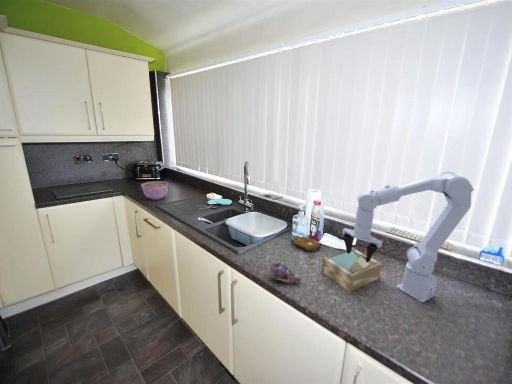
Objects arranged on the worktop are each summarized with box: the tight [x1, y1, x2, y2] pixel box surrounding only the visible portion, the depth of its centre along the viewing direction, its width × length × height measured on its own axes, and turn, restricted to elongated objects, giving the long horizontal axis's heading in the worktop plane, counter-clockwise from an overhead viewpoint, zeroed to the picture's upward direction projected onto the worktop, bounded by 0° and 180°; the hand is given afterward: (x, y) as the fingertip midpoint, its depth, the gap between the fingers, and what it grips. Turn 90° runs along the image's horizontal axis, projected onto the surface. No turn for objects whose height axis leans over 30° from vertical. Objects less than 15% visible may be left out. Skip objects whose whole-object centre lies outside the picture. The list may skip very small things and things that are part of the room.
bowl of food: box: [140, 180, 169, 201], centre depth 187 cm, size 20×20×12 cm
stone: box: [349, 257, 369, 273], centre depth 93 cm, size 4×4×6 cm
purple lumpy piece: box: [269, 262, 302, 285], centre depth 91 cm, size 12×8×6 cm, turn 59°
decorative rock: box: [292, 235, 322, 253], centre depth 119 cm, size 11×4×15 cm
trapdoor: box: [329, 251, 367, 274], centre depth 96 cm, size 11×14×1 cm
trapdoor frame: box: [321, 247, 383, 293], centre depth 95 cm, size 14×17×7 cm
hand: (358, 256), depth 92 cm, fingers open, 7 cm apart
